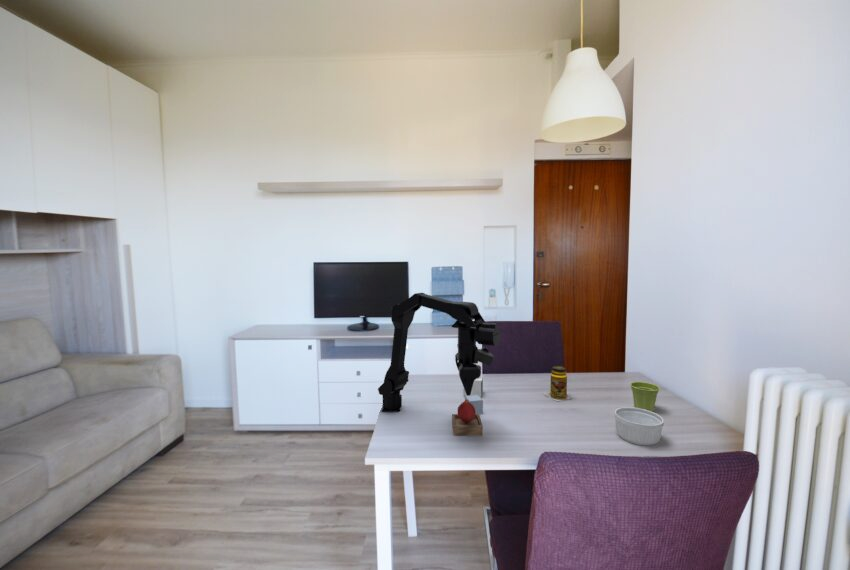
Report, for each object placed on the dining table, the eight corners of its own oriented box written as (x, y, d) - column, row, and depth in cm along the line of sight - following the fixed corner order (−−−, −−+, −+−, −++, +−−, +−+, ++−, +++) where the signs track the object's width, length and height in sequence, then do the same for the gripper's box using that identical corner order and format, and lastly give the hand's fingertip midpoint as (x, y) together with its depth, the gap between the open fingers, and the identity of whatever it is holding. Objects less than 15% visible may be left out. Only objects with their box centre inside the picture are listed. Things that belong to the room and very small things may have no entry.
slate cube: (469, 415, 133) (469, 401, 132) (464, 409, 138) (464, 396, 137) (482, 413, 134) (482, 399, 134) (477, 408, 139) (477, 394, 139)
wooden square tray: (453, 437, 118) (453, 426, 117) (452, 424, 126) (452, 414, 126) (482, 437, 117) (482, 426, 117) (478, 424, 126) (478, 413, 126)
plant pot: (627, 402, 143) (627, 380, 142) (655, 405, 139) (656, 383, 139) (631, 412, 134) (632, 388, 133) (662, 416, 131) (663, 391, 130)
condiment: (557, 401, 144) (558, 371, 143) (542, 394, 152) (543, 365, 151) (572, 398, 147) (572, 368, 146) (556, 391, 155) (557, 363, 154)
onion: (463, 429, 118) (462, 404, 117) (454, 421, 123) (453, 398, 122) (479, 424, 120) (478, 400, 120) (469, 417, 126) (469, 394, 125)
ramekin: (674, 445, 111) (675, 422, 110) (635, 450, 108) (636, 427, 107) (639, 425, 124) (640, 405, 123) (604, 429, 121) (604, 408, 120)
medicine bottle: (481, 397, 149) (481, 368, 148) (463, 396, 150) (463, 367, 149) (482, 391, 156) (482, 363, 155) (465, 390, 157) (465, 362, 156)
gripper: (497, 349, 110) (497, 400, 112) (487, 335, 129) (487, 380, 130) (459, 349, 110) (459, 401, 112) (455, 336, 129) (455, 380, 130)
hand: (466, 390), depth 121 cm, fingers open, 9 cm apart
